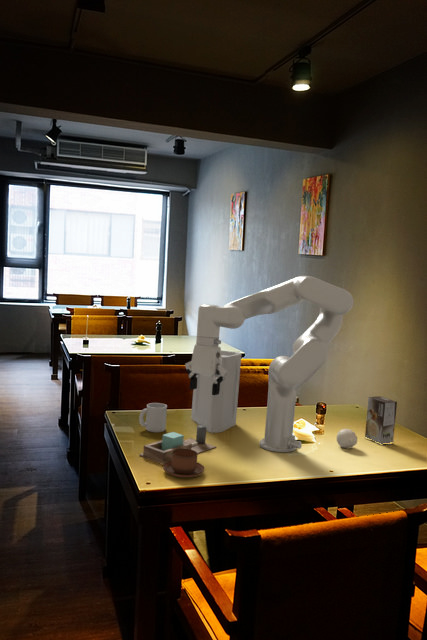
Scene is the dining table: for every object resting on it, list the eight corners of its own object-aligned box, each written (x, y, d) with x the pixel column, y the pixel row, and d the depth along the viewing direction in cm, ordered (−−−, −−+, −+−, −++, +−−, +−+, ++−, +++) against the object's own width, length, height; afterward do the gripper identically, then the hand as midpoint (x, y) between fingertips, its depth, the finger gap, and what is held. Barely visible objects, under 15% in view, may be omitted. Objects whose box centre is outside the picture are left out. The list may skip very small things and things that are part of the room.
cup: (168, 431, 196) (169, 407, 195) (141, 433, 191) (142, 408, 191) (161, 426, 202) (163, 402, 201) (135, 427, 198) (137, 403, 197)
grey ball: (350, 452, 188) (352, 433, 187) (332, 446, 193) (334, 428, 192) (360, 448, 193) (362, 430, 192) (342, 443, 198) (343, 425, 197)
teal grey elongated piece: (198, 439, 187) (199, 424, 186) (208, 443, 184) (209, 427, 184) (161, 451, 172) (162, 434, 172) (172, 455, 169) (173, 438, 169)
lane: (190, 439, 189) (191, 429, 189) (216, 447, 182) (216, 437, 182) (139, 455, 169) (140, 444, 169) (165, 465, 162) (166, 454, 162)
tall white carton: (245, 430, 204) (251, 357, 202) (209, 432, 198) (215, 357, 196) (224, 416, 222) (229, 349, 219) (190, 418, 216) (195, 348, 213)
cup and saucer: (154, 471, 157) (155, 450, 157) (185, 463, 166) (186, 443, 165) (181, 484, 149) (183, 463, 148) (212, 475, 157) (214, 455, 157)
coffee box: (393, 444, 201) (398, 401, 200) (381, 445, 198) (385, 402, 197) (376, 436, 209) (380, 395, 208) (363, 437, 207) (367, 396, 205)
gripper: (235, 344, 179) (231, 395, 180) (194, 337, 189) (191, 385, 191) (221, 346, 173) (217, 398, 175) (180, 338, 183) (177, 388, 185)
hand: (204, 391), depth 183 cm, fingers open, 9 cm apart
